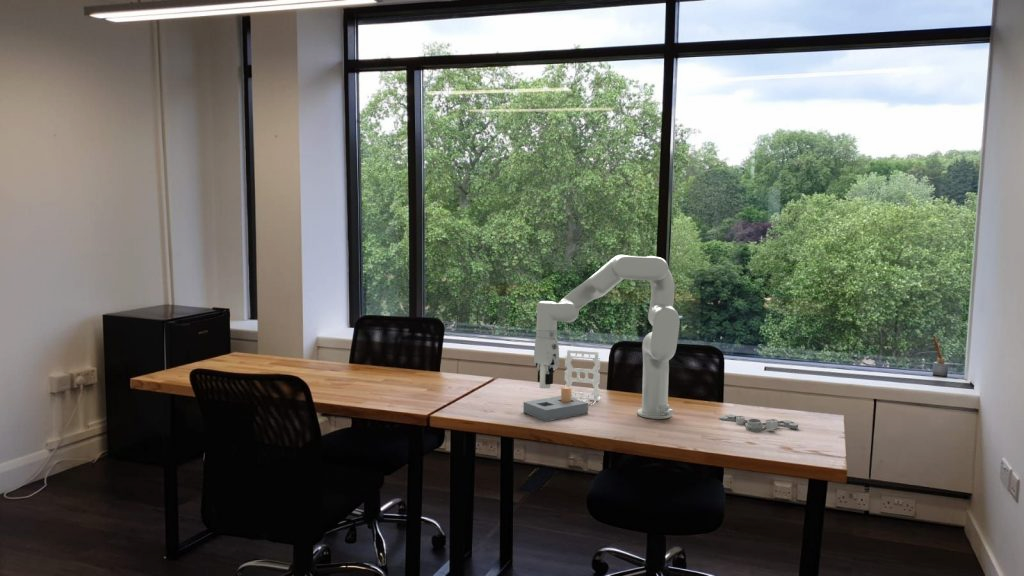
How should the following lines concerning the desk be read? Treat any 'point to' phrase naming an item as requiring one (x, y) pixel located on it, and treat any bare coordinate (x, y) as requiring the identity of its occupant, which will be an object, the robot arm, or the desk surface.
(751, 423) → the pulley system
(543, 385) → the peg cream
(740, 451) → the desk surface
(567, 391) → the peg terracotta
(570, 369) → the white plastic rack
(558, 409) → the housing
